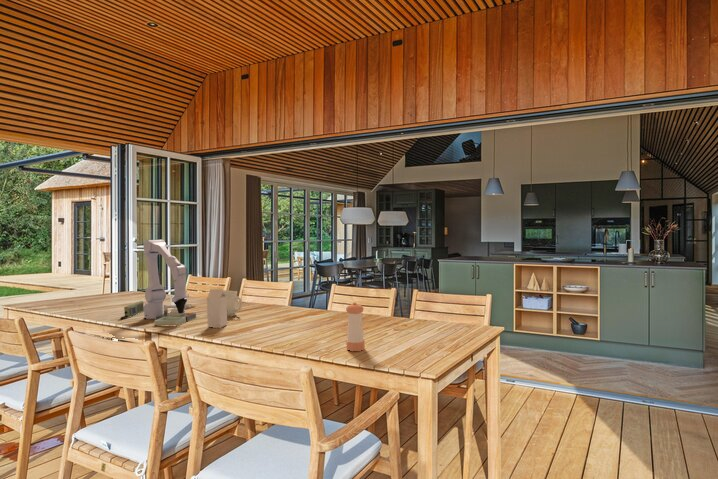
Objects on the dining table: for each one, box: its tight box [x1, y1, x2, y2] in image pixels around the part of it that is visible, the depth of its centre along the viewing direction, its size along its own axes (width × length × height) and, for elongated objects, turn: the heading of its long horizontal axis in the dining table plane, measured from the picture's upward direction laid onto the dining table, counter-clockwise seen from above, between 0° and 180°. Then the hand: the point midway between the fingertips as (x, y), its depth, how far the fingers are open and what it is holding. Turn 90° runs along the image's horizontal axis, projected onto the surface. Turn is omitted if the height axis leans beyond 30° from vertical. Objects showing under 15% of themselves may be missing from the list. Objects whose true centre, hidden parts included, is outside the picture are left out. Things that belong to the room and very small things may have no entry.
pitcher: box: [223, 289, 243, 317], centre depth 264 cm, size 11×18×14 cm, turn 62°
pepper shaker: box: [345, 302, 366, 352], centre depth 187 cm, size 7×7×19 cm
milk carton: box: [206, 288, 228, 329], centre depth 235 cm, size 7×7×19 cm
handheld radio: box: [120, 300, 145, 319], centre depth 269 cm, size 7×3×25 cm
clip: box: [163, 304, 192, 315], centre depth 255 cm, size 16×2×5 cm, turn 83°
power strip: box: [155, 311, 197, 322], centre depth 255 cm, size 18×10×3 cm, turn 83°
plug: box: [169, 308, 186, 316], centre depth 255 cm, size 6×6×6 cm
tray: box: [153, 317, 187, 326], centre depth 243 cm, size 12×10×3 cm
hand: (180, 313), depth 249 cm, fingers closed
